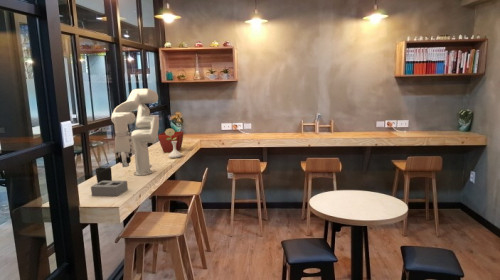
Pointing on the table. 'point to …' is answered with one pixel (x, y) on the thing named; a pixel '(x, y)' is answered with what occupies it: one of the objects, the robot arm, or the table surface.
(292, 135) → the table surface
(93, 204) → the table surface
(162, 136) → the plant pot
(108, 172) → the pen holder
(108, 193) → the hole block
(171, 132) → the flower in vase
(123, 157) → the steel pin
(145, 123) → the robot arm
